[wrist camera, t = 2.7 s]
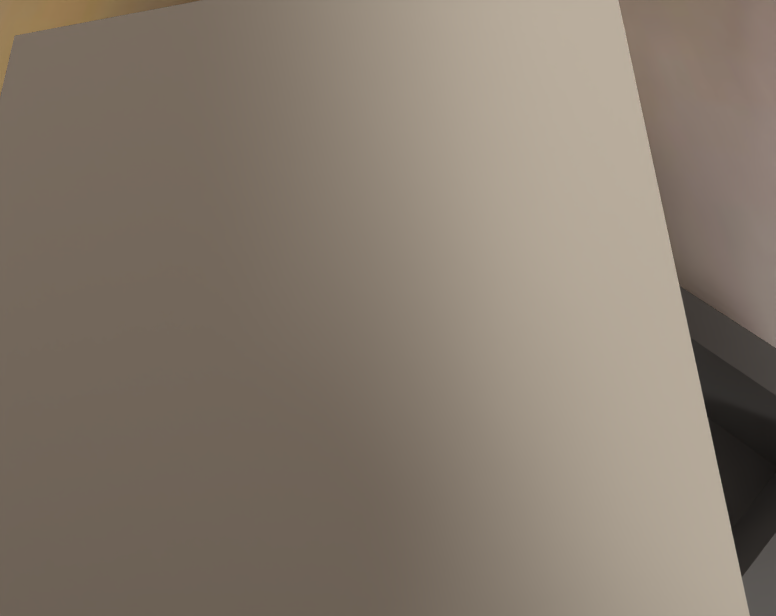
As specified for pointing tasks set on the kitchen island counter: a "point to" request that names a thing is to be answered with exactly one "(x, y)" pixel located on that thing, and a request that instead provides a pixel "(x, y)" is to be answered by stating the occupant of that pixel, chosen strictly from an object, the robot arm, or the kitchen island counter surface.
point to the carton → (346, 321)
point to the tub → (741, 439)
